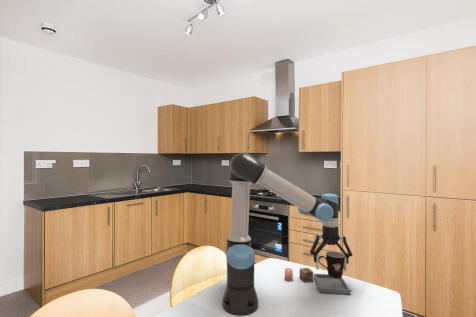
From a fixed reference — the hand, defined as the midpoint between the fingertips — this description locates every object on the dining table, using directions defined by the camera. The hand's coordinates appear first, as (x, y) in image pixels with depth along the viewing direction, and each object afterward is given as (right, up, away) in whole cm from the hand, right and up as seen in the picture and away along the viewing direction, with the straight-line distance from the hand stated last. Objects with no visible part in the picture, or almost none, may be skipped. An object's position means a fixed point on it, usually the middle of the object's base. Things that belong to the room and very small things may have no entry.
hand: (330, 269), depth 121 cm
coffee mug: (0, -2, 0) cm, 2 cm away
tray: (0, -8, 0) cm, 8 cm away
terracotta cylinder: (-19, -8, +6) cm, 22 cm away
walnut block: (-10, -8, +6) cm, 15 cm away
